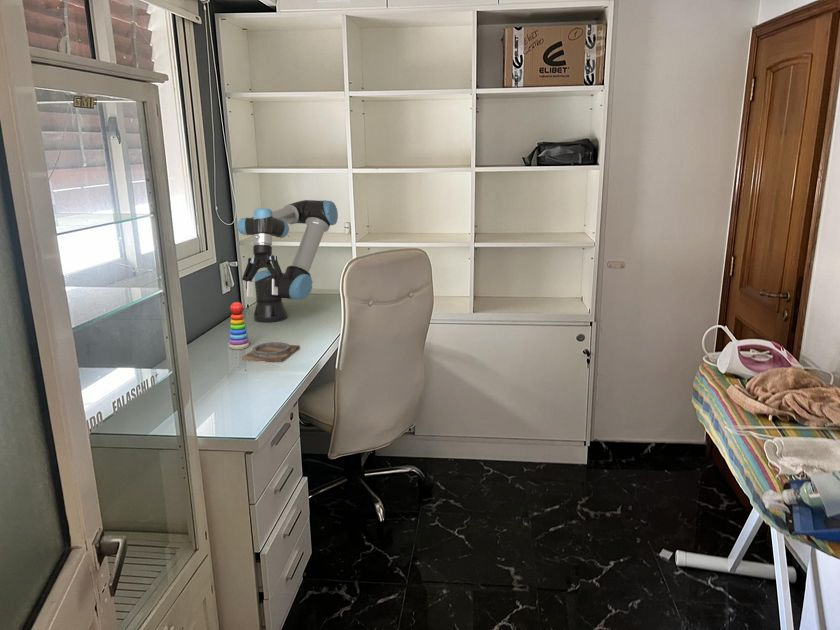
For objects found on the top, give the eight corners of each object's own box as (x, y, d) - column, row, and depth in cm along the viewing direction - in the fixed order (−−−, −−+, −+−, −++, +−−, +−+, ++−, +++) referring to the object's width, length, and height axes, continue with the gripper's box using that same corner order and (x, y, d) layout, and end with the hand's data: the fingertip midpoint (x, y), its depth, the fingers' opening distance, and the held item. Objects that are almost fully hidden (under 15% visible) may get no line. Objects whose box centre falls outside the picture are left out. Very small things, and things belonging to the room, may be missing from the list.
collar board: (263, 346, 261) (262, 339, 260) (299, 348, 258) (299, 341, 257) (242, 360, 244) (241, 353, 243) (281, 362, 241) (280, 356, 240)
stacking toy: (244, 350, 255) (239, 305, 251) (225, 349, 257) (221, 304, 252) (252, 344, 263) (249, 300, 258) (234, 343, 265) (230, 299, 260)
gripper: (234, 247, 270) (233, 297, 269) (279, 240, 259) (279, 293, 257) (246, 249, 277) (246, 298, 275) (291, 244, 265) (291, 294, 264)
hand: (262, 296), depth 266 cm, fingers open, 13 cm apart
